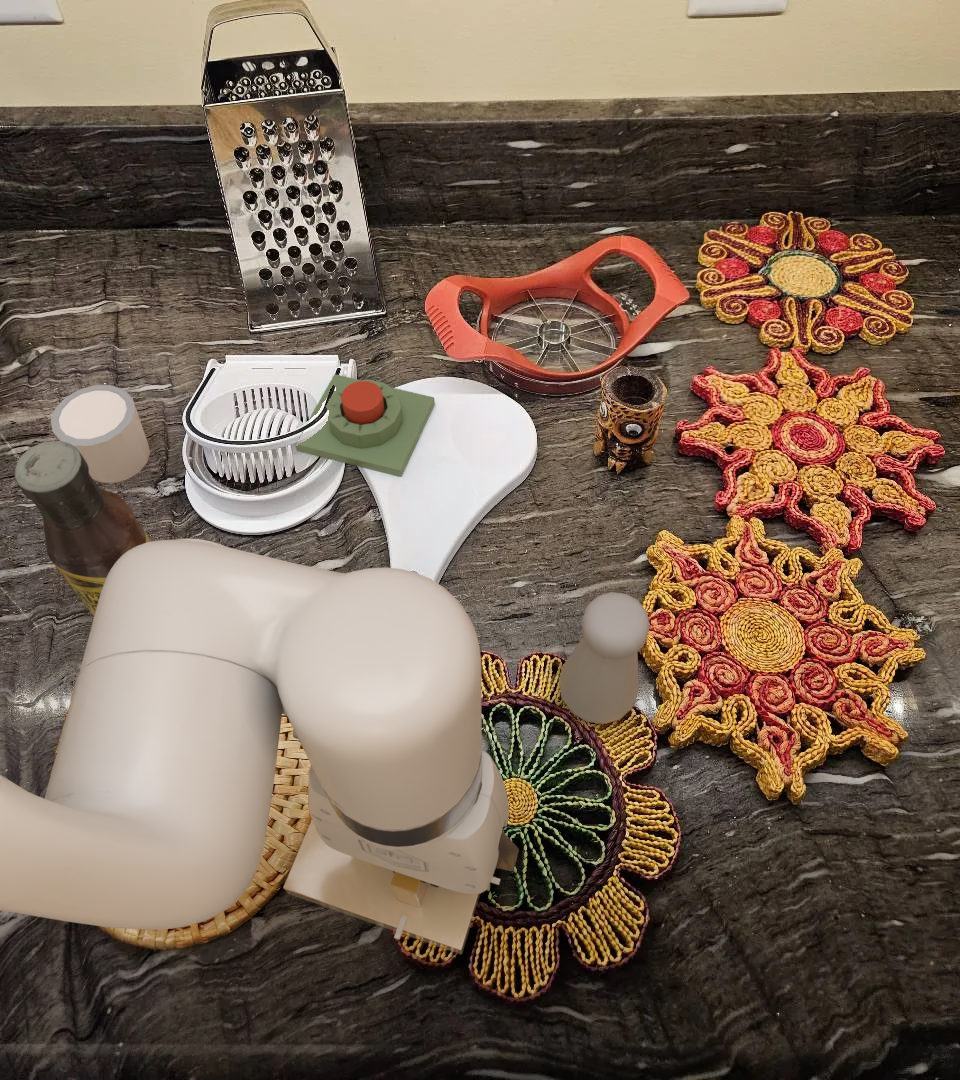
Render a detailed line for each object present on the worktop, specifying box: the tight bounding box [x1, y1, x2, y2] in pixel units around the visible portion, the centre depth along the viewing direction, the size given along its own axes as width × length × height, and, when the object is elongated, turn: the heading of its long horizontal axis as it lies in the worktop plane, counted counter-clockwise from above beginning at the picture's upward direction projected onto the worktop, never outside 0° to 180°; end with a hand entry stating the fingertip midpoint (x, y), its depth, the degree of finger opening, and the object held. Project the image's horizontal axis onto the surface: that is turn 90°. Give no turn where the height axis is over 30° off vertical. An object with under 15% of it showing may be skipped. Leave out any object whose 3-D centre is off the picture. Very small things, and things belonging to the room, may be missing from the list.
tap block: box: [283, 819, 501, 955], centre depth 57 cm, size 13×10×3 cm
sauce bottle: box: [14, 440, 152, 617], centre depth 61 cm, size 7×6×20 cm
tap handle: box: [391, 872, 429, 908], centre depth 54 cm, size 6×2×5 cm, turn 162°
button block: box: [295, 373, 436, 478], centre depth 78 cm, size 10×9×4 cm
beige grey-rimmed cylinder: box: [50, 384, 151, 484], centre depth 75 cm, size 7×7×7 cm
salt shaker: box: [558, 591, 651, 725], centre depth 60 cm, size 6×6×13 cm
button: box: [341, 381, 384, 425], centre depth 76 cm, size 4×4×2 cm
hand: (424, 856), depth 55 cm, fingers closed on tap handle
